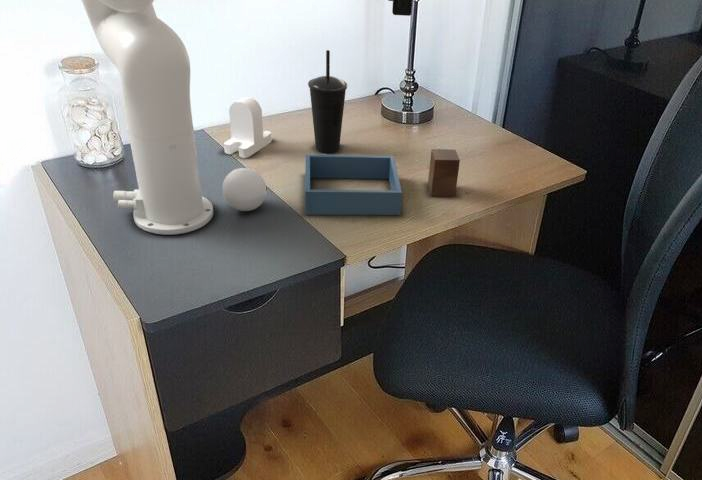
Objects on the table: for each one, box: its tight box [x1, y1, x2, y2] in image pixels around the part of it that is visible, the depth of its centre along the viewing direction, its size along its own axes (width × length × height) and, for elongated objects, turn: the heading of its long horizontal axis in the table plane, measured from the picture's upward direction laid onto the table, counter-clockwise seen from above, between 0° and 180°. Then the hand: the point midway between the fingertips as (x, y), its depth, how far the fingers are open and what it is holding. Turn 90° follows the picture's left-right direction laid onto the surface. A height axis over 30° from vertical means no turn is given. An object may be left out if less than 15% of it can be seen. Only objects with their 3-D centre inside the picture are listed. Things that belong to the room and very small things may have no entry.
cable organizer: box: [223, 96, 272, 159], centre depth 130 cm, size 5×10×10 cm, turn 159°
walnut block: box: [427, 148, 461, 197], centre depth 122 cm, size 5×5×8 cm
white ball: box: [221, 167, 268, 212], centre depth 112 cm, size 10×7×7 cm
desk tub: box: [304, 154, 403, 216], centre depth 119 cm, size 17×15×4 cm
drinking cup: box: [307, 49, 348, 154], centre depth 130 cm, size 8×8×20 cm
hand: (398, 7), depth 113 cm, fingers open, 9 cm apart
